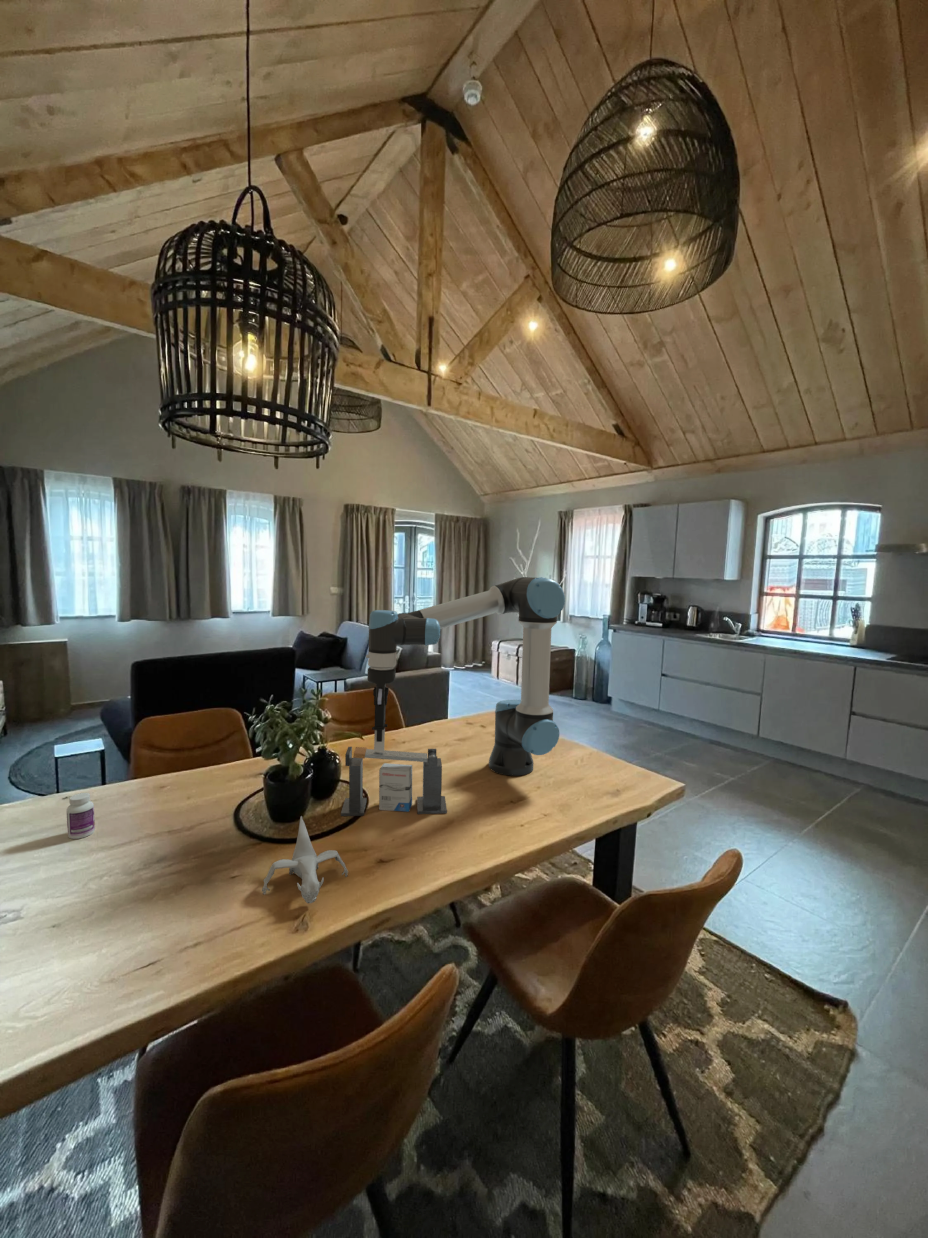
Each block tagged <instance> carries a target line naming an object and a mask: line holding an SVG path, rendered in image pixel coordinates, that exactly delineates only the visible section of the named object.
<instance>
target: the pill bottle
mask: <svg viewBox="0 0 928 1238" xmlns="http://www.w3.org/2000/svg"><path fill="white" fill-rule="evenodd" d="M94 804H95V803H94V802H93V801H92V800H91V794H90V793H89V792H81V793H77V794H76V793H75V794H72V796H69V805H68V807H67V808H66V823H67V824H66V826H67V836H68V838H69V839H71V840H79V839H83V838H86V837H89V836H90V835H93V834H94V832H95V831H96V826H95V825H96V824H95V821H96V820H95V805H94Z"/></svg>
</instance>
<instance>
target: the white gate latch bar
mask: <svg viewBox="0 0 928 1238" xmlns="http://www.w3.org/2000/svg"><path fill="white" fill-rule="evenodd" d="M429 756H435V753H434V752H431V753H430V754H429ZM352 758H363V759H378V760H393V761H405V762H407V761H408V762H416V763H417V762H419V763H423V762H427V759H428V752H427V753H425V752H415V751H413V752H412V751H401V750H400V751H398V750H387V749H384V753H379V752H374V748H373V749H372V748H371V749H370V748H367V747H363V746H361V747H360V746H355V749H354V752H353V755H352Z"/></svg>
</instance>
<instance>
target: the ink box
mask: <svg viewBox="0 0 928 1238" xmlns="http://www.w3.org/2000/svg"><path fill="white" fill-rule="evenodd" d="M378 773H379V774H378V779H379V780H378V782H379V783H378V786H379V788H378V789H379V790H378V794H379V795H378V802H379V803H378V804H379V805H378V808H379V809H378V810H379V811H393V812H395V811H396V812H406V813H407V812H409V813H410V811H411V808H412V806H413V764H400V763H387V762H384V763H382V765H381V766H380V768H379V772H378Z"/></svg>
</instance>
